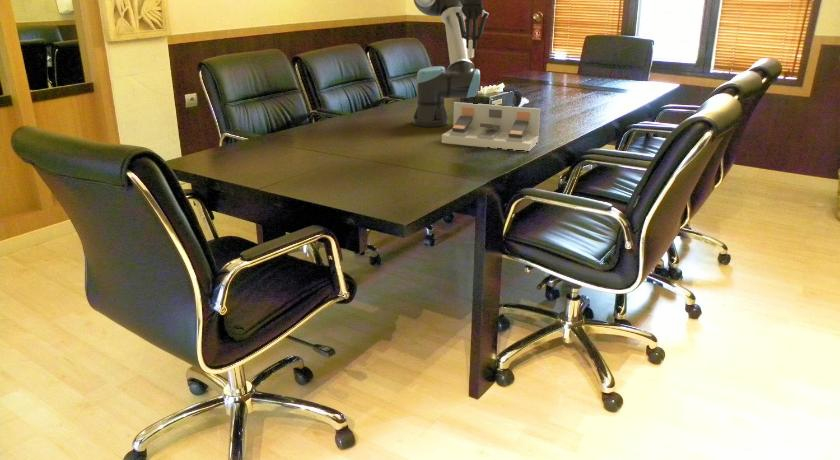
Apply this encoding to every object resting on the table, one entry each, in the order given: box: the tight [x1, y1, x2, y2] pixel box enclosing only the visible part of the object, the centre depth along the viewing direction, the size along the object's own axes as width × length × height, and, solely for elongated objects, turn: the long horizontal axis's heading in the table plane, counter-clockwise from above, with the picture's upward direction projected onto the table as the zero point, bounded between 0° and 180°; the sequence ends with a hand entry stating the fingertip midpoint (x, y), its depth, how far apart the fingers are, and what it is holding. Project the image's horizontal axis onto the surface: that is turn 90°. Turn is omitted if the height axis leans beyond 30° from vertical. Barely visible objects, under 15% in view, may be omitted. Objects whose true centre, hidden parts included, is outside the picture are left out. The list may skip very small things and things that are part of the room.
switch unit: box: [441, 101, 541, 152], centre depth 242 cm, size 34×14×13 cm, turn 68°
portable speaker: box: [478, 86, 522, 107], centre depth 298 cm, size 25×10×10 cm, turn 113°
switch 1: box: [451, 116, 473, 132], centre depth 246 cm, size 5×10×1 cm, turn 158°
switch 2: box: [480, 123, 500, 129], centre depth 242 cm, size 5×10×1 cm, turn 158°
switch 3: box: [509, 120, 529, 138], centre depth 238 cm, size 5×10×1 cm, turn 158°
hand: (471, 57), depth 250 cm, fingers closed
